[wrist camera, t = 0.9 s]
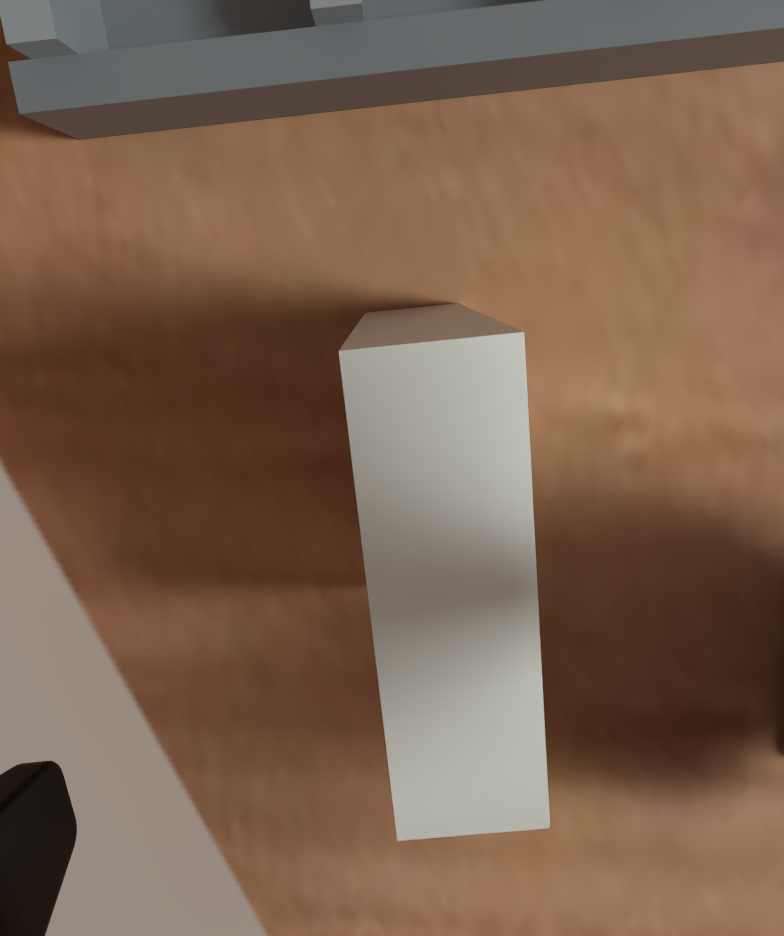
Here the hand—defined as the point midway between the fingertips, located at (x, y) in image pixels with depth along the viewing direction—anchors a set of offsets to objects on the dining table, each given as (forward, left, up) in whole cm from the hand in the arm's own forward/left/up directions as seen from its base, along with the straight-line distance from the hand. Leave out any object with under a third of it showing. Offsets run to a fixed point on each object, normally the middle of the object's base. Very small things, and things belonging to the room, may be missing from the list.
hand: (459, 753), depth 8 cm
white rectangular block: (0, 0, -13) cm, 13 cm away
